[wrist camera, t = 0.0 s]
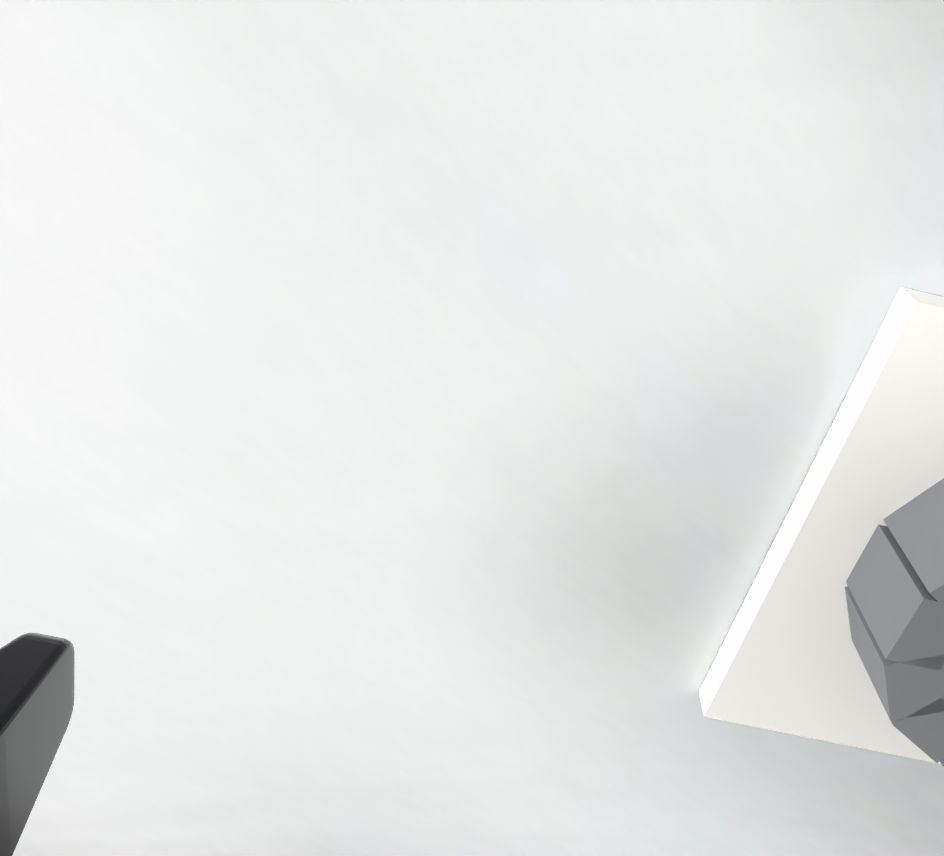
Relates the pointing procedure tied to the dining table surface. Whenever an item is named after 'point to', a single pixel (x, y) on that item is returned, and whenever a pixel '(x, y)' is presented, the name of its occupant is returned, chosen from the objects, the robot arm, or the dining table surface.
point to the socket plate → (856, 568)
